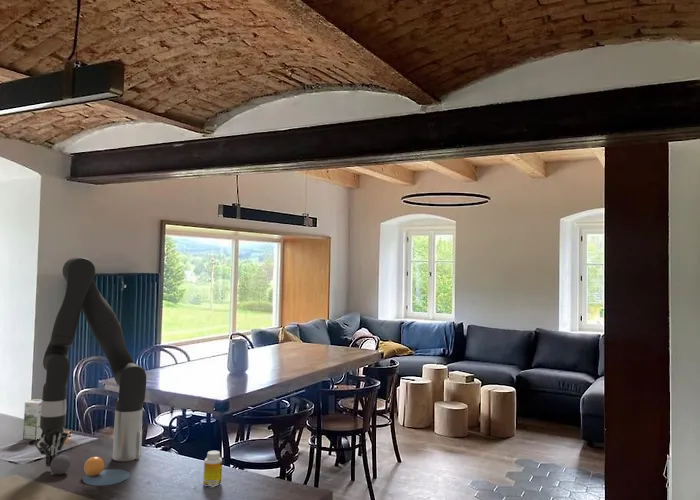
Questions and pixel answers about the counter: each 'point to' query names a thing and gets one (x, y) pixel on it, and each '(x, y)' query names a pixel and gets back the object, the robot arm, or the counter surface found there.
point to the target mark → (107, 477)
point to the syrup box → (32, 419)
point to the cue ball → (60, 464)
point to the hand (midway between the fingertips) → (50, 465)
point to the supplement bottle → (212, 469)
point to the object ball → (94, 466)
